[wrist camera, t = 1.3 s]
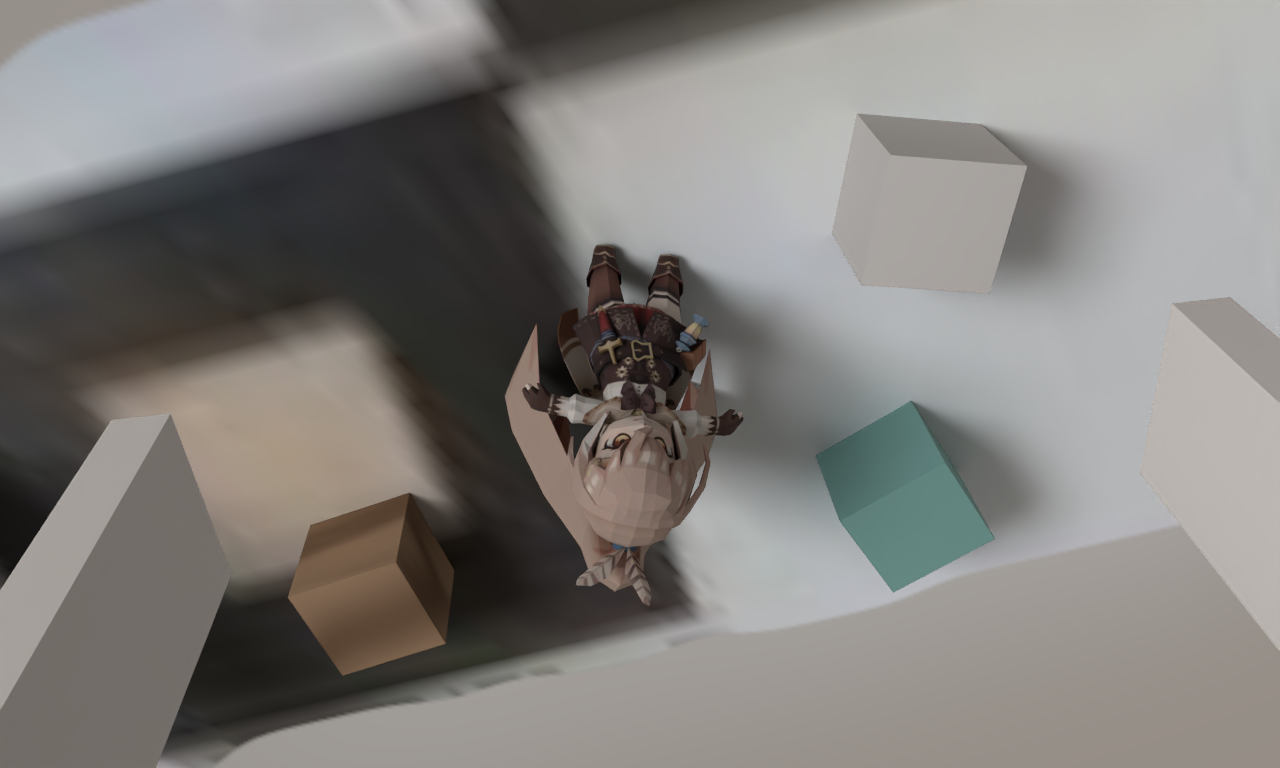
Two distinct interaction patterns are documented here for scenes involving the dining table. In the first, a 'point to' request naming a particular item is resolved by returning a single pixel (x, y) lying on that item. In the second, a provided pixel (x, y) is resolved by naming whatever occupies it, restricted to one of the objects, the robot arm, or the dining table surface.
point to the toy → (621, 421)
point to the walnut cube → (374, 585)
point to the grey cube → (926, 203)
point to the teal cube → (902, 498)
